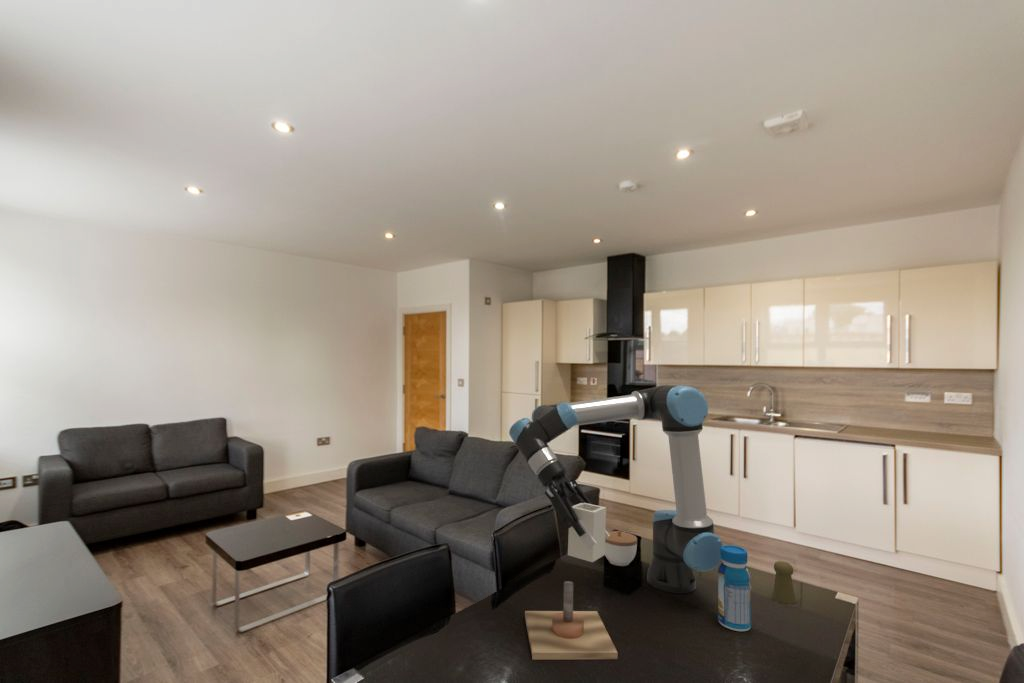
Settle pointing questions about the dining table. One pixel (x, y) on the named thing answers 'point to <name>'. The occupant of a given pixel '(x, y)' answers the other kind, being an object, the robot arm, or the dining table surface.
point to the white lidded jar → (620, 548)
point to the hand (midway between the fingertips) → (599, 542)
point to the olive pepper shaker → (783, 583)
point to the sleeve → (596, 526)
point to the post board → (568, 646)
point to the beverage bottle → (734, 589)
